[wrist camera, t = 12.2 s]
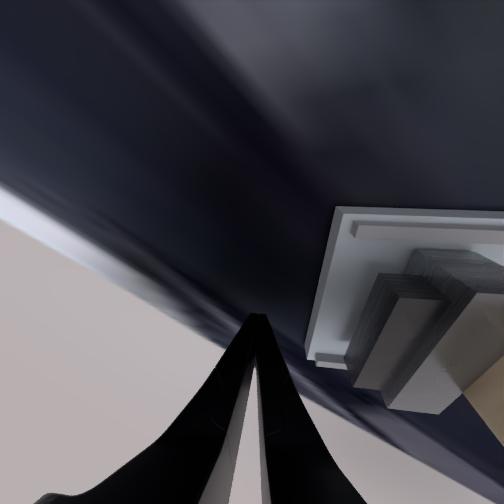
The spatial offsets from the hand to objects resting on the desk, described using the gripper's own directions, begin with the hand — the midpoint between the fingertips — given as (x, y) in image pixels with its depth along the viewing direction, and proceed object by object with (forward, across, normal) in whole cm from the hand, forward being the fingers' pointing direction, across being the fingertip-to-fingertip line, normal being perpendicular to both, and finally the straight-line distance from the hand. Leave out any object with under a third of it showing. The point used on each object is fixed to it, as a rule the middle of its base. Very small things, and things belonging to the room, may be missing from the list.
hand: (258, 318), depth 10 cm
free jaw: (+1, -7, 0) cm, 8 cm away
